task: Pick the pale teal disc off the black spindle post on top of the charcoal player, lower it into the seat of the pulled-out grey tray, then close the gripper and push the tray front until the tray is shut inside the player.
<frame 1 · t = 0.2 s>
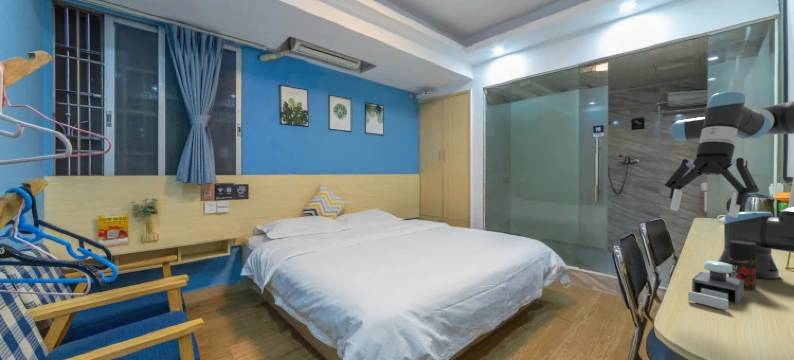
hand: (701, 213, 88), 27 cm above the table, tool tilted 15°, fingers open, 13 cm apart
disc: (717, 269, 94), point 8 cm above the table, touching player
deodorant: (741, 287, 99), on the table
player: (717, 294, 94), on the table
tray: (711, 295, 89), point 2 cm above the table, slide at 8.0 cm
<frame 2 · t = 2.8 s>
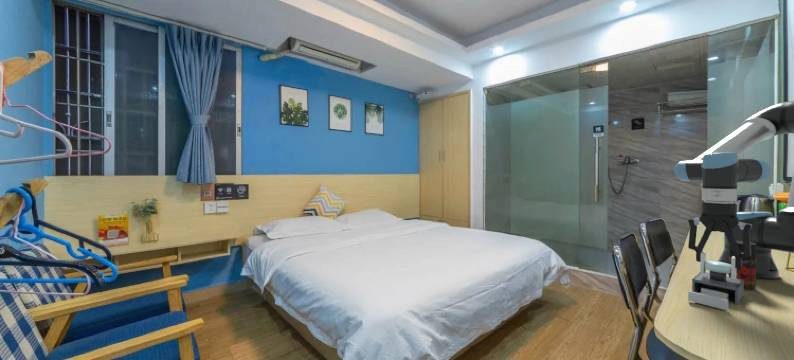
hand: (717, 275, 94), 6 cm above the table, tool pointing down, fingers closed on disc, 6 cm apart
disc: (717, 269, 94), point 8 cm above the table, touching gripper, player
everything else where it was.
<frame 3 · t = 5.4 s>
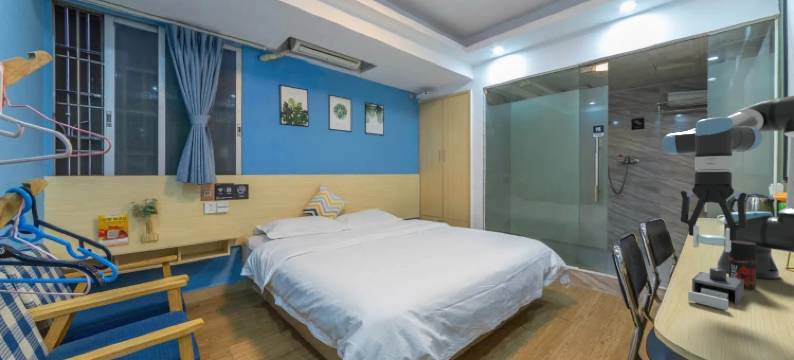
hand: (711, 248, 88), 16 cm above the table, tool pointing down, fingers closed on disc, 6 cm apart
disc: (711, 243, 88), point 18 cm above the table, touching gripper
everything else where it was.
when the fingers open (1 cm above the table, at t = 8.2 s): disc drops 2 cm, resting on tray.
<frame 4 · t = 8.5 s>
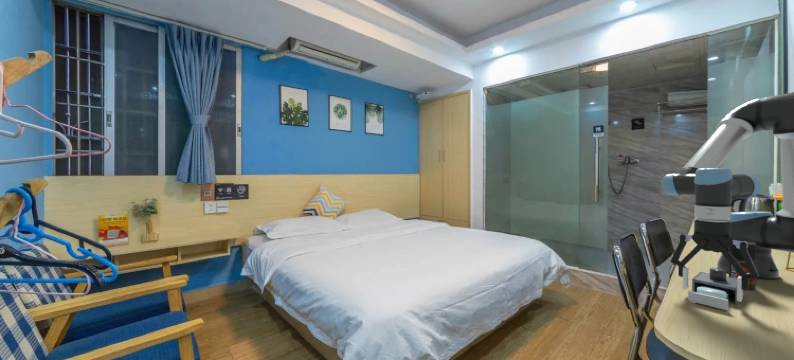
hand: (711, 293, 89), 2 cm above the table, tool pointing down, fingers open, 10 cm apart
disc: (711, 297, 89), point 1 cm above the table, touching tray
tray: (711, 295, 89), point 2 cm above the table, slide at 8.0 cm, touching disc
everything else where it was.
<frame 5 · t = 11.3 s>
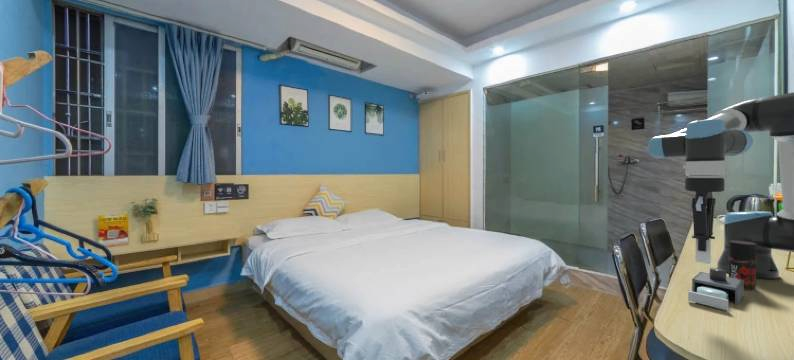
hand: (702, 262, 82), 14 cm above the table, tool pointing down, fingers closed
nothing on the table moved.
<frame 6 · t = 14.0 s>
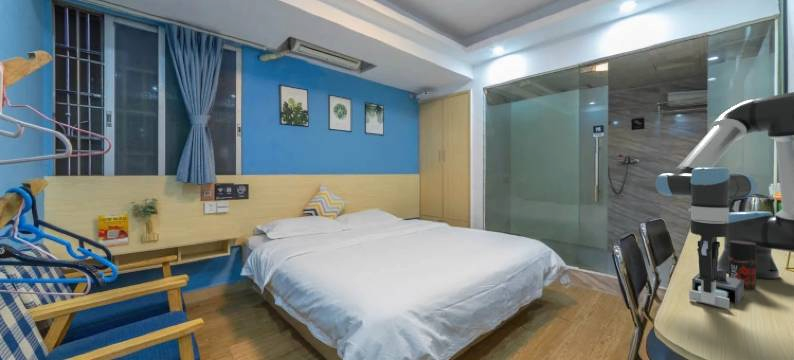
hand: (708, 302, 86), 1 cm above the table, tool pointing down, fingers closed
disc: (712, 296, 90), point 1 cm above the table, touching tray
tray: (712, 294, 90), point 2 cm above the table, slide at 6.6 cm, touching disc, gripper
everything else where it was.
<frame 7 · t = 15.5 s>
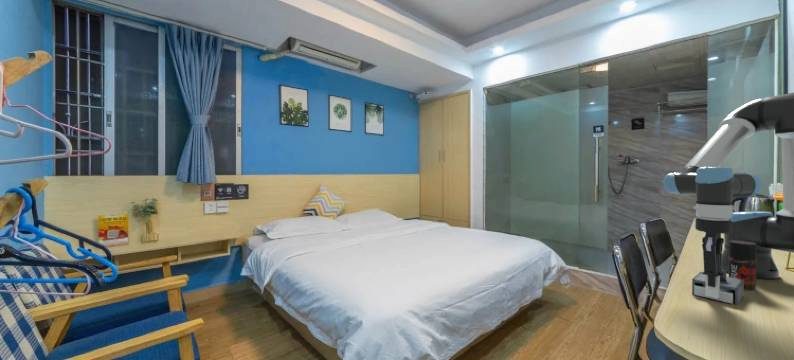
hand: (712, 296, 89), 1 cm above the table, tool pointing down, fingers closed
disc: (716, 291, 93), point 1 cm above the table, touching tray
tray: (716, 289, 93), point 2 cm above the table, slide at 0.8 cm, touching disc, gripper
everything else where it was.
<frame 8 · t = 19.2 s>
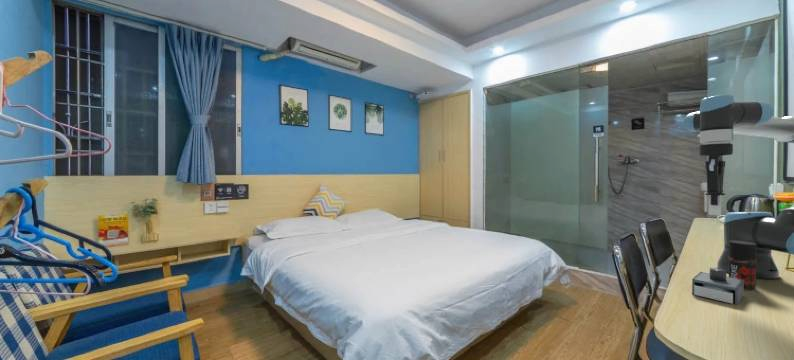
hand: (714, 214, 99), 24 cm above the table, tool pointing down, fingers closed
tray: (716, 289, 93), point 2 cm above the table, slide at 0.7 cm, touching disc
everything else where it was.
at the end: tray slide at 0.7 cm; disc 1.8 cm from the player (horizontally); disc point 1.4 cm above the table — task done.
